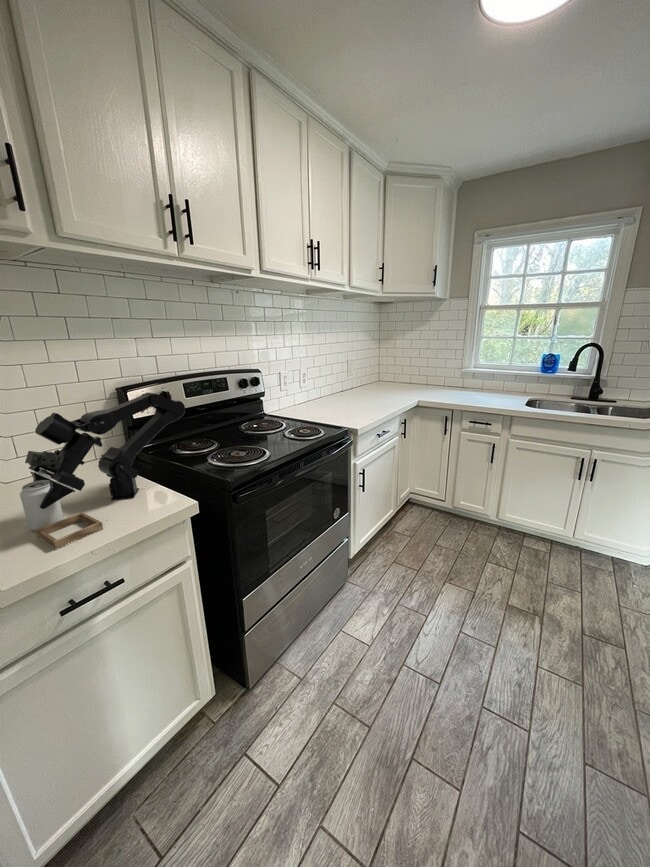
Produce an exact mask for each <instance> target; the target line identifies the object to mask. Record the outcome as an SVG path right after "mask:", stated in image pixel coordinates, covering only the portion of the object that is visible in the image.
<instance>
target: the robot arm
mask: <svg viewBox="0 0 650 867" xmlns="http://www.w3.org/2000/svg"><path fill="white" fill-rule="evenodd" d="M151 407H152V408H154V409H155V412H154V415H153V416H152V417H151V419H149V420H148V421H147V422H146V423H145V424H144V425H143V426H142V427H140V429H139V430H137V431H136V433H134V434H132V436H131V438H129V439H128V440H127V441H126V442H125V443H124V444H123V445H122V446H120V447H114V446H110V447H109V448H108V449H107V451H106V452H105V453H103V454H100V457H101V458H100V459H98V460H99V461H98V469H99V470H100V472H101V473H103V474H105V475H106V477H108V478H110V479H109V484H108V487H109V492H110V496H111V498H110V500H111V501H114V500H115V501H116V500H124V499H133V498H135V496H137V494H138V492H139V491H140V488H139V487H138V486H137V481H136V478H138V473H139V470H138V469H136V468H134V467H132V466H133V464H134V461H135V458H136V456H137V455H138V454H139V453H140V452H141V451H142V450H143V449H144V448H145V447H146V446H147V445H148V444H149V443H150V442H151V441H152V440H153V439H154V438H155V436H157V435H158V434H159V433H160V432H161V431H162V430H163V429H164V428H165V427H166V426H167V425H169V424H171V423H174V422H176V421H178V420H179V419H180V418H182V417H183V416H185V413H186V406H185V404H184V402H183V401H181V400H175V399H169V398H168V397H164V396H161V395H160V394H158V393H156V392H148V391H147V392H145V393H144V394H142V395H139V396H137V397H134V398H132V399H130V400H128V401H125V402H123V403H120V404H117V405H116V406H113V407H110V408H107V409H99V410H95V411H90V412H86V413H85V414H82V416H81V417H80V418H78V419H74V420H71V421H70V420H67V418H65V417H63V416H62V415H60V413H57V412H52V413H51V414H50V415H49V416H47V417H45V418H44V419H43V420H41V421H39V423H38V424H37V425H36V428H35V431H34V432H35V434H37V436H39V437H42V438H43V439H46V440H48V441H49V442H52V443H54V444H56V445H61V444H64V445H63V446H62V448H61V449H60V450H59V449H55V450H54V451H53V452H52V451H46V450H44V451H43V452H42V451H36V450H35V451H33V450H28V452H27V454H26V458H25V462H24V463H25V464H28V465H29V467H28V470H31V471H30V474H31V476H32V478H33V481H32V482H35V481H40V480H49V483H50V489H49V491H48V493H47V494H46V496H45V498H44V500H43V501H42V503H41V505H40V508H42V509H45V508H47V507H48V506H50V505H52V504H53V503H55V502H56V501H58V500H59V501H60V500H61V499H63V498H65V497H67V496H68V495H70V494H71V493H75V492H76V490H77V491H80V492H81V491H82V490H83V488H84V487H85V485H86V484H85V480H84V479H83V478H80V477H78V476H76V474H74V473H75V471H76V470H77V469H78V467H79V466H80V465H81V466H84V464H85V463H86V461H84V459H85V457H86V456H87V454H88V453H89V452H90V450H91V449H92V448H93V446H96V447H99V448H102V447H103V443H102V439H101V437H100V435H104V434H107V433H108V432H109V431H111V430H112V429H114V428H116V426H117V425H118V424H119V423H120V422H121V421H123V420H125V419H128V418H130V417H132V416H134V415H136V414H138V413H140V412H142V411H144V410H147V409H149V408H151ZM77 430H78V431H81V432H82V433H80V432H78V431H77ZM90 433H91V434H93V435H98V436H92V435H91V434H90Z"/></svg>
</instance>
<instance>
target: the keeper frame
mask: <svg viewBox="0 0 650 867" xmlns="http://www.w3.org/2000/svg"><path fill="white" fill-rule="evenodd" d="M79 522H83V523H85V524H87V525H88V526H86V527H84V528H81V529H78V530H76V531H73V532H72V533H70V534H66V535H64V536H62V537H60V538H55V537H54V536H52V535H51V534H52V533H55V532H57V531H59V530H62V529H64V528H67V527H69V526H72V525H74V524H77V523H79ZM103 526H104V525H103V522H102V521H100V520H99V519H96V518H94V517H92V516H90V515H88V514H86V513H84V512H79V513H75V514H73V515H71V516H68V517H65V518H64V519H63V520H60V521H57V522H55V523H52V524H50V525H47V526H44V527H42V528H39V529H37V530H36V531H35V534H36V536H37V538H38V539H40V540H41V539H42V541H43V542H44V541H45V542H44V543H45V544H47V543H48V544H47V545H49V544H50V545H51V547H52V546H53V547H54V548H53V547H52V548H53V549H55V548H56V549H57V548H59V547H61V548H63V547H62V546H64V545H66V544H68V543H70V544H72V543H71V542H73V541H75V540H77V541H79V540H81V538H82V539H84V538H86V537H88V536H87V535H89V536H90V534H91V535H93V534H95V533H98V532H99V530H100V531H102V530H104V527H103ZM97 531H98V532H97ZM85 536H86V537H85ZM83 537H84V538H83ZM78 539H79V540H78ZM75 542H76V541H75ZM73 543H74V542H73ZM50 545H49V546H50ZM68 545H69V544H68ZM66 546H67V545H66ZM64 547H65V546H64ZM56 549H55V550H56ZM59 549H60V548H59ZM57 550H58V549H57Z"/></svg>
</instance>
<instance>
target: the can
mask: <svg viewBox="0 0 650 867" xmlns="http://www.w3.org/2000/svg"><path fill="white" fill-rule="evenodd" d="M49 489H50V483H49V480H40V481H35V482H33V481H31V482H29V483H26V484H24V485H22V487H21V492H20V493H19V496H20V500H21V504H22V508H23V511H24V515H25V519H26V522H27V526H28V529H30V530H33V531H35V532H36V530H37V529H39V528H42V527H44V526H47V525H50V524H52V523H55V522H57V521H60V520H63V519H65V518H64V513H63V510H62V509H63V508H62V506H61V502H60V500H58V501H56V502H55V503H53V504H52V505H50V506H48V507H47V508H45V509H42V508H40V505H41V503H42V501H43V500H44V498H45V496H46V494H47V493H48V491H49Z"/></svg>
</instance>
